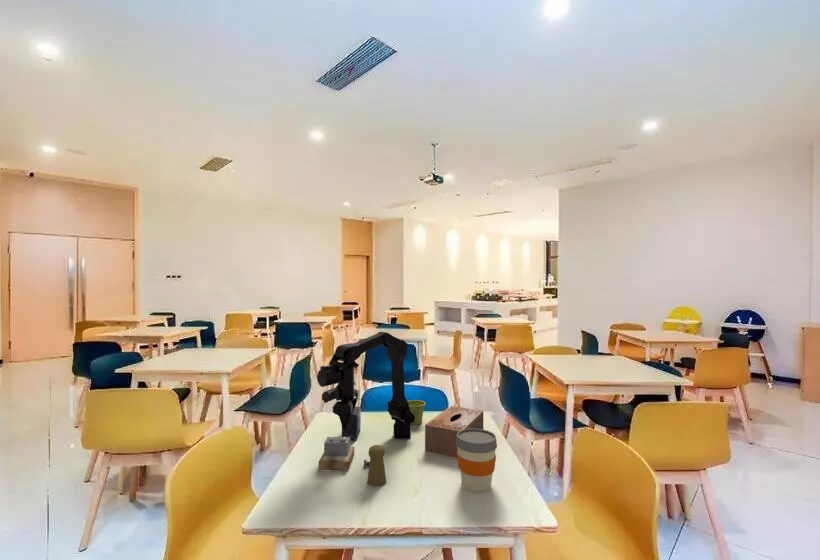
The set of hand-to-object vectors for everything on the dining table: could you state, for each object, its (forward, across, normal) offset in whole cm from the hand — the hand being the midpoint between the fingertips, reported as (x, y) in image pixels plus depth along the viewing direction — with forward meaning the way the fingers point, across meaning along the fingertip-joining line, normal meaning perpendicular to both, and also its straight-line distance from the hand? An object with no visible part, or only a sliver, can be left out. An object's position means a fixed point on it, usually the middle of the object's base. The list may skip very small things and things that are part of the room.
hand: (346, 424), depth 139 cm
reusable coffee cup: (+12, +18, +43) cm, 48 cm away
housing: (+8, +4, -3) cm, 10 cm away
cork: (+12, +17, +12) cm, 24 cm away
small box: (+12, -20, -2) cm, 24 cm away
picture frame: (+12, +4, -3) cm, 13 cm away
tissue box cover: (+13, -14, +40) cm, 45 cm away
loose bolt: (+12, +6, +10) cm, 17 cm away
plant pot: (+13, -36, +24) cm, 45 cm away
